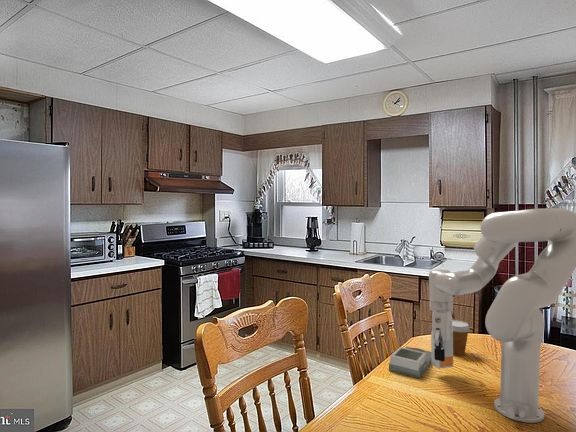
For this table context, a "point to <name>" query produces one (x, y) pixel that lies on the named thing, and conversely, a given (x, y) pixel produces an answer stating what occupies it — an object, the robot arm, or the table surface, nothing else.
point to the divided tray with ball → (410, 361)
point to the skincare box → (448, 353)
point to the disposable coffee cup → (459, 337)
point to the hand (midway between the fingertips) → (442, 356)
